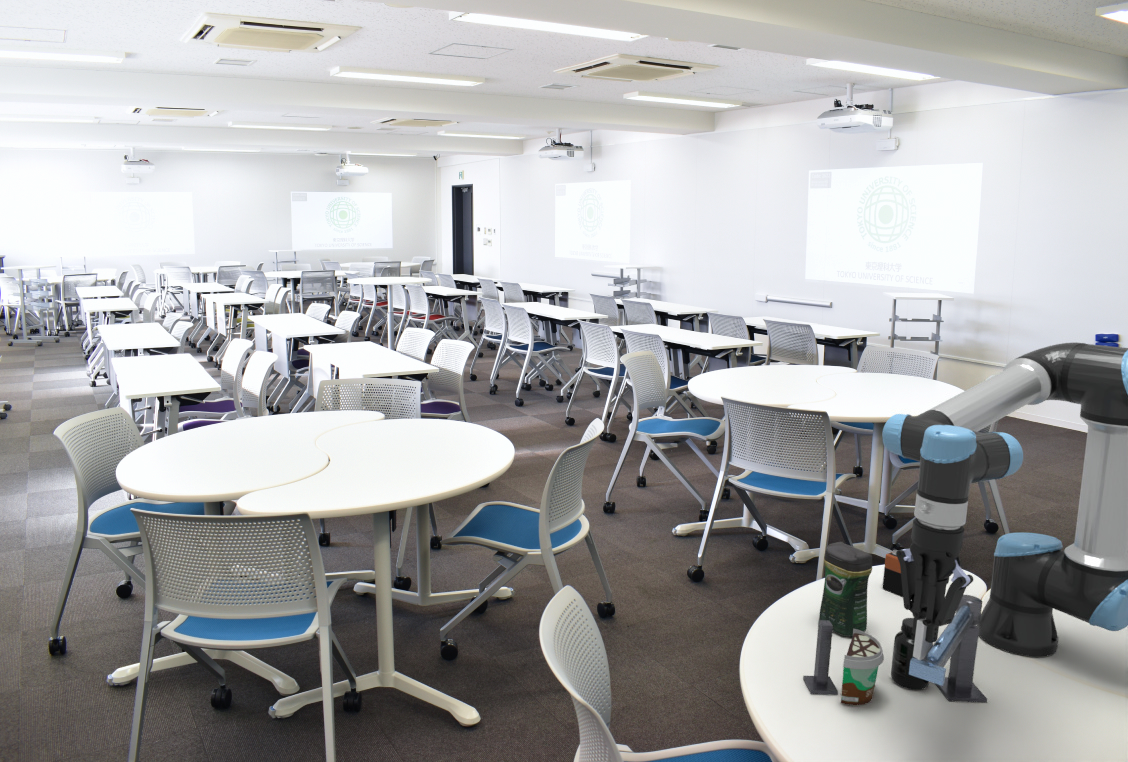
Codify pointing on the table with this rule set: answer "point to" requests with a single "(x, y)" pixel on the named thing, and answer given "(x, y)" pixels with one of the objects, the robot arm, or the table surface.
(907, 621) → the supplement bottle
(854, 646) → the food container
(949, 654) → the cable arm
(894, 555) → the battery
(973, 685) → the pivot post
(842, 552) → the coffee jar
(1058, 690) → the table surface
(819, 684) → the rest post
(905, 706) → the table surface
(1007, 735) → the table surface
